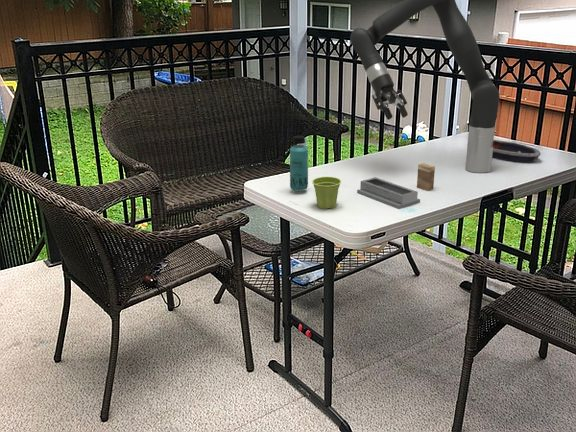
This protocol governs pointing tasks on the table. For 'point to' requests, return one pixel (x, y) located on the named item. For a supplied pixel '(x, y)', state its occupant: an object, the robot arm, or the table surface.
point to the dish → (514, 151)
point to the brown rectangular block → (425, 176)
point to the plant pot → (326, 191)
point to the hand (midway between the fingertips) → (398, 117)
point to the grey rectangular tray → (388, 193)
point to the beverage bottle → (298, 164)
